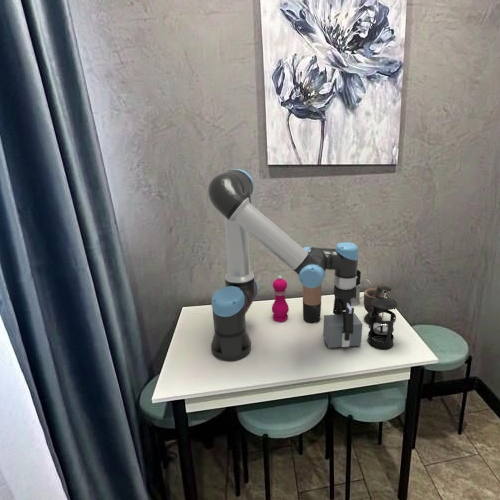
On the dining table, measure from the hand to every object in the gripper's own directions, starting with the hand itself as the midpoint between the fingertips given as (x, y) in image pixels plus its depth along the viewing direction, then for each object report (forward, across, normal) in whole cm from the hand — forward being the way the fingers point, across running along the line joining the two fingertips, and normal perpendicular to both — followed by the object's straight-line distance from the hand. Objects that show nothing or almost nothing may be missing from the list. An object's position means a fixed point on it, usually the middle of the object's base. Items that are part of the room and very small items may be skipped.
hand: (341, 339), depth 135 cm
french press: (+1, -2, -14) cm, 14 cm away
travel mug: (+2, +18, +7) cm, 20 cm away
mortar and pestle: (+1, +11, -18) cm, 22 cm away
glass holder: (+2, +28, -16) cm, 33 cm away
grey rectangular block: (0, 0, 0) cm, 0 cm away
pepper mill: (+2, +21, +20) cm, 29 cm away
